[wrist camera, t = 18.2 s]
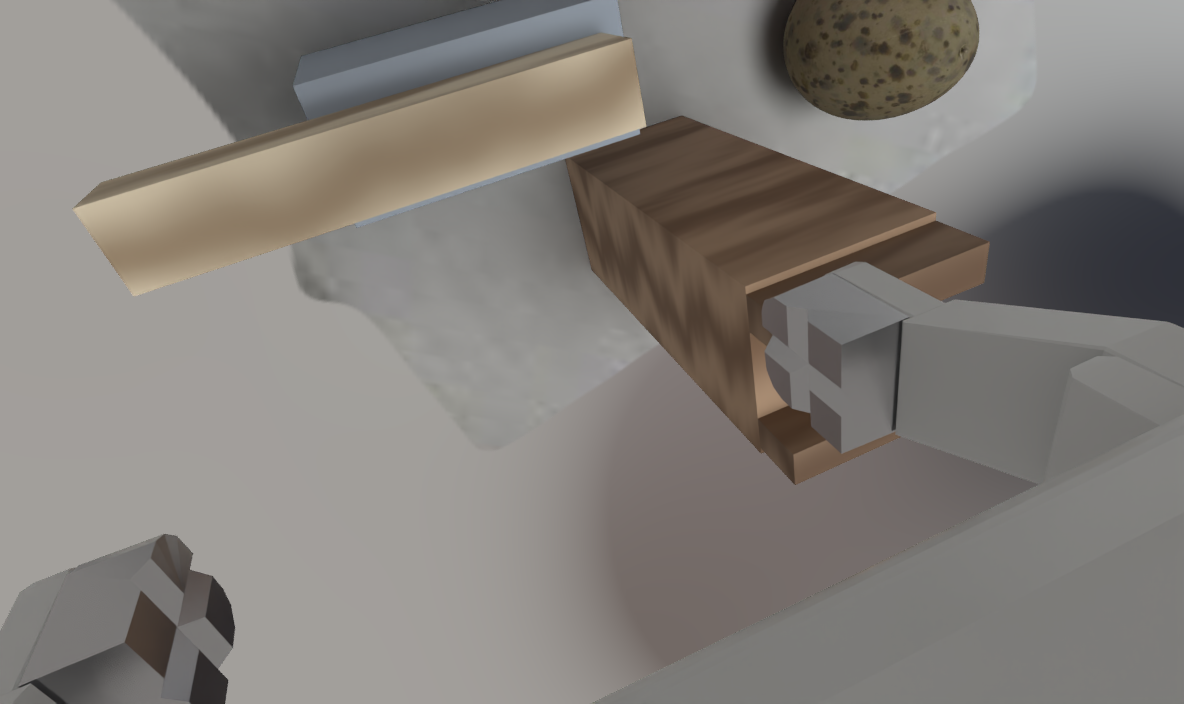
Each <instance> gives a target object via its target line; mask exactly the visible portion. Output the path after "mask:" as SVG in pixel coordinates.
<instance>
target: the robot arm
mask: <svg viewBox="0 0 1184 704" xmlns="http://www.w3.org/2000/svg"><path fill="white" fill-rule="evenodd" d="M761 312H762V326H763V327H764V328H765V329H766V330H768V331H769V332H770V333H771V334H772V337H771V339H770V341H769V343H768V345H767V347H766V349H765V351H764V352H765V361H766V369H767V372H768V375H769V377H770V380H771V382H772V385H773V387H774V389H775V390H776V392H777V393H778V394H779V396H780V397H781V399H782V400H783V401H784V402H786V403H787V404H788V405H789V406H790V407H791V408H792V409H795V410H799V411H803V412H807V413H810V414H811V427H812V428H813V429H815V430H816V431H817V432H818V433H819V434H820V435H821V436H822V437H823V438H825V439H826V440H827V441H828V442H829V443H830V444H831V445H832V446H833V447H834V448H836V449H837V450H838V451H839V452H840V453H841V454H842V453H845V452H847V451H850V450H852V449H854V448H857V447H859V446H862V445H864V444H866V443H869V442H871V441H874V440H876V439H878V438H881V437H883V436H886V435H888V434H891V433H893V432H895V431H896V433H895V435H898V436H901V437H904V438H907V439H910V440H913V441H916V442H919V443H922V444H925V445H927V446H930V447H933V448H936V449H939V450H942V451H945V452H947V453H950V454H953V455H956V456H959V457H962V458H965V459H968V460H970V461H973V462H976V463H979V464H982V465H985V466H988V467H991V468H994V469H997V470H999V471H1002V472H1005V473H1008V474H1011V475H1014V476H1017V477H1020V478H1022V479H1025V480H1028V481H1031V482H1034V483H1037V484H1039V485H1037V486H1035V487H1033V488H1031V489H1029V490H1027V491H1025V492H1023V493H1021V494H1019V495H1017V496H1015V497H1013V498H1011V499H1008V500H1007V501H1004V502H1002V503H1000V504H998V505H996V506H994V507H992V508H990V509H988V510H986V511H984V512H982V513H980V514H978V515H976V516H974V517H972V518H969V519H968V520H965V521H963V522H961V523H959V524H957V525H955V526H953V527H951V528H949V529H947V530H945V531H943V532H941V533H939V534H937V535H935V536H933V537H931V538H928V539H927V540H925V541H922V542H920V543H918V544H916V545H915V546H912V547H910V548H908V549H906V550H904V551H902V552H900V553H898V554H896V555H894V556H892V557H890V558H888V559H886V560H884V561H882V562H880V563H877V564H876V565H873V566H871V567H869V568H867V569H865V570H863V571H862V572H859V573H857V574H855V575H853V576H851V577H849V578H847V579H845V580H843V581H841V582H839V583H837V584H835V585H832V586H830V587H828V588H826V589H824V590H822V591H820V592H818V593H816V594H814V595H812V596H810V597H808V598H806V599H804V600H802V601H800V602H798V603H796V604H794V605H792V606H790V607H788V608H786V609H784V610H781V611H780V612H778V613H775V614H773V615H771V616H769V617H767V618H765V619H763V620H761V621H759V622H757V623H755V624H753V625H751V626H749V627H747V628H745V629H743V630H741V631H739V632H737V633H734V634H733V635H730V636H729V637H726V638H724V639H722V640H720V641H718V642H716V643H714V644H712V645H710V646H708V647H706V648H704V649H702V650H700V651H698V652H696V653H694V654H691V655H689V656H687V657H685V658H683V659H682V660H679V661H677V662H675V663H673V664H671V665H669V666H667V667H665V668H663V669H661V670H659V671H657V672H655V673H653V674H650V675H648V676H646V677H644V678H642V679H640V680H638V681H636V682H634V683H632V684H630V685H628V686H626V687H624V688H622V689H620V690H618V691H616V692H614V693H611V694H609V695H607V696H605V697H603V698H601V699H599V700H597V701H595V702H593V703H591V704H1184V328H1182V327H1179V326H1177V325H1174V324H1172V323H1169V322H1164V321H1154V320H1145V319H1135V318H1125V317H1115V316H1107V315H1096V314H1087V313H1078V312H1068V311H1058V310H1049V309H1040V308H1030V307H1021V306H1011V305H1002V304H992V303H982V302H973V301H963V300H953V301H950V302H948V303H944V302H941V301H940V300H938V299H936V298H934V297H932V296H930V295H928V294H926V293H924V292H922V291H920V290H918V289H917V288H915V287H913V286H911V285H909V284H907V283H905V282H903V281H901V280H899V279H897V278H895V277H893V276H891V275H889V274H888V273H886V272H884V271H882V270H880V269H878V268H876V267H874V266H872V265H870V264H868V263H866V262H853V263H851V264H849V265H846V266H844V267H842V268H839V269H837V270H835V271H832V272H830V273H828V274H825V276H823V277H820V278H818V279H815V280H813V281H810V282H808V283H805V284H803V285H800V286H798V287H795V288H793V289H791V290H788V291H786V292H783V293H781V294H778V295H776V296H773V297H771V298H768V299H766V300H764V303H763V307H762V311H761ZM192 555H193V553H192V552H191V551H190V550H189V549H188V547H186V545H185V544H184V543H183V542H182V541H181V540H180V539H179V538H178V537H177V536H174V535H168V534H163V535H160V536H157V537H154V538H152V539H149V540H146V541H144V542H141V543H138V544H136V545H133V546H130V547H128V548H125V549H122V550H119V551H117V552H114V553H111V554H108V555H106V556H103V557H100V558H98V559H95V560H92V561H90V562H87V563H84V564H81V565H79V566H78V567H76V568H71V569H68V570H66V571H63V572H61V573H58V574H55V575H53V576H51V577H48V578H45V579H43V580H40V581H38V582H35V583H33V584H32V585H30V586H29V587H27V588H26V589H24V590H23V591H21V592H20V593H19V595H18V597H17V599H16V601H15V603H14V605H13V607H12V609H11V611H10V613H9V615H8V617H7V619H6V621H5V623H4V625H3V627H2V629H1V631H0V704H225V701H226V693H227V687H228V679H227V678H226V677H225V676H224V675H223V674H222V673H221V672H220V671H219V670H218V668H219V667H220V665H221V664H222V663H223V661H224V660H225V658H226V657H227V655H228V654H229V653H230V651H231V650H232V648H233V642H234V633H235V625H234V619H233V614H232V608H231V604H230V602H229V600H228V598H227V596H226V594H225V592H224V590H223V588H222V587H221V586H220V585H219V584H218V582H217V581H216V580H215V579H214V577H213V576H210V575H206V574H203V573H200V572H195V571H192V570H190V566H191V561H192Z"/></svg>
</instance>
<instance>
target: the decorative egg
mask: <svg viewBox="0 0 1184 704" xmlns="http://www.w3.org/2000/svg"><path fill="white" fill-rule="evenodd" d="M978 43H979V24H978V18H977V14H976V11H975V9H974V6H973V4H972V2H971V0H797V1H796V2H795V4H794V6H793V8H792V10H791V12H790V15H789V18H788V21H787V24H786V28H785V33H784V42H783V50H784V59H785V64H786V68H787V71H788V74H789V76H790V78H791V80H792V82H793V84H794V85H795V87H796V88H797V90H798V91H799V92H800V94H801V95H802V96H803V97H804V98H805V99H806V100H807V101H809V102H810V103H811V104H812V105H814V106H815V107H817V108H819V109H820V110H822V111H824V112H826V113H829V114H831V115H834V116H837V117H841V118H845V119H852V120H880V119H887V118H892V117H896V116H900V115H904V114H907V113H910V112H912V111H915V110H917V109H920V108H922V107H924V106H926V105H928V104H930V103H932V102H933V101H935V100H937V99H938V98H940V97H941V96H942V95H944V94H945V93H946V92H948V91H949V90H950V89H951V88H952V87H953V86H954V85H956V84H957V82H958V81H959V80H960V79H961V78H962V77H963V76H964V74H965V73H966V71H967V70H968V68H969V67H970V65H971V63H972V61H973V59H974V57H975V54H976V51H977V48H978Z"/></svg>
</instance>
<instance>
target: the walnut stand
mask: <svg viewBox="0 0 1184 704" xmlns="http://www.w3.org/2000/svg"><path fill="white" fill-rule="evenodd" d="M565 160H566V164H567V169H568V173H569V177H570V181H571V185H572V189H573V193H574V198H575V202H576V206H577V210H578V214H579V218H580V223H581V227H582V231H583V235H584V239H585V243H586V248H587V252H588V256H589V260H590V264H591V268H592V271H593V272H594V273H595V274H596V275H597V276H598V277H599V278H600V279H601V280H602V282H603V283H604V284H605V285H606V286H607V287H608V288H609V289H610V290H611V291H612V292H613V293H614V295H615V296H616V297H617V298H618V299H619V300H620V301H621V302H622V303H623V304H624V305H625V307H626V308H627V309H628V310H629V311H630V312H631V313H632V314H633V315H634V316H635V317H636V318H637V320H638V321H639V322H640V323H641V324H642V325H643V326H644V327H645V328H646V329H647V330H648V331H649V333H650V334H651V335H652V336H653V337H654V338H655V339H656V340H657V341H658V342H659V343H660V344H661V346H662V347H663V348H664V349H665V350H666V351H667V352H668V353H669V354H670V355H671V356H672V357H673V358H674V360H675V361H676V362H677V363H678V364H679V365H680V366H681V367H682V368H683V369H684V370H685V372H686V373H687V374H688V375H689V376H690V377H691V378H692V379H693V380H694V381H695V382H696V383H697V385H698V386H699V387H700V388H701V389H702V390H703V391H704V392H705V393H706V394H707V395H708V396H709V397H710V399H711V400H712V401H713V402H714V403H715V404H716V405H717V406H718V407H719V408H720V409H721V411H722V412H723V413H724V414H725V415H726V416H727V417H728V418H729V419H730V420H731V421H732V422H733V424H734V425H735V426H736V427H737V428H738V429H739V430H740V431H741V432H742V433H743V434H744V436H746V438H747V439H748V440H749V441H750V442H751V443H752V444H753V445H754V446H755V448H756V449H757V450H758V451H759V452H760V453H764V452H765V453H766V454H767V455H768V456H769V458H770V459H771V460H772V461H773V462H774V463H775V464H776V465H777V466H778V467H779V468H780V469H781V470H782V472H783V473H784V474H785V475H787V477H788V478H789V479H790V480H791V481H792V482H793V483H794V484H795V485H796V484H798V483H801V482H803V481H805V480H807V479H809V478H811V477H814V476H816V475H818V474H820V473H823V472H825V471H827V470H829V469H831V468H834V467H836V466H838V465H840V464H842V463H845V462H847V461H849V460H851V459H853V458H856V457H858V456H860V455H862V454H864V453H867V452H869V451H871V450H873V449H875V448H877V447H880V446H882V445H884V444H886V443H888V442H891V441H893V440H895V439H897V438H900V437H901V436H898V435H895V433H896V431H895V432H893V433H891V434H888V435H886V436H883V437H881V438H878V439H876V440H874V441H871V442H869V443H866V444H864V445H862V446H859V447H857V448H854V449H852V450H850V451H847V452H845V453H842V454H841V453H840V452H839V451H838V450H837V449H836V448H834V447H833V446H832V445H831V444H830V443H829V442H828V441H827V440H826V439H825V438H823V437H822V436H821V435H820V434H819V433H818V432H817V431H816V430H815V429H813V428H812V427H811V414H810V413H807V412H803V411H799V410H795V409H792V408H791V407H790V406H789V405H788V404H787V403H786V402H784V401H783V400H782V399H781V397H780V396H779V394H778V393H777V392H776V390H775V389H774V387H773V385H772V382H771V380H770V377H769V375H768V372H767V369H766V361H765V352H764V351H765V349H766V347H767V345H768V343H769V341H770V339H771V337H772V334H771V333H770V332H769V331H768V330H766V329H765V328H764V327H763V326H762V312H761V311H762V307H763V303H764V300H766V299H768V298H771V297H773V296H776V295H778V294H781V293H783V292H786V291H788V290H791V289H793V288H795V287H798V286H800V285H803V284H805V283H808V282H810V281H813V280H815V279H818V278H820V277H823V276H825V274H828V273H830V272H832V271H835V270H837V269H839V268H842V267H844V266H846V265H849V264H851V263H853V262H866V263H868V264H870V265H872V266H874V267H876V268H878V269H880V270H882V271H884V272H886V273H888V274H889V275H891V276H893V277H895V278H897V279H899V280H901V281H903V282H905V283H907V284H909V285H911V286H913V287H915V288H917V289H918V290H920V291H922V292H924V293H926V294H928V295H930V296H932V297H934V298H936V299H938V300H940V301H941V300H944V299H946V298H948V297H951V296H953V295H956V294H958V293H961V292H963V291H965V290H968V289H970V288H973V287H975V286H977V285H980V284H982V283H984V280H985V273H986V265H987V258H988V250H989V244H990V242H989V241H986V240H983V239H981V238H978V237H976V236H973V235H971V234H968V233H966V232H963V231H961V230H958V229H956V228H953V227H951V226H948V225H945V224H943V223H940V222H938V221H936V212H933V211H930V210H928V209H925V208H923V207H920V206H918V205H915V204H912V203H910V202H907V201H905V200H902V199H899V198H897V197H894V196H891V195H889V194H886V193H884V192H881V191H878V190H876V189H873V188H870V187H868V186H865V185H863V184H860V183H857V182H855V181H852V180H849V179H847V178H844V177H842V176H839V175H836V174H834V173H831V172H828V171H826V170H823V169H821V168H818V167H815V166H813V165H810V164H807V163H805V162H802V161H800V160H797V159H794V158H792V157H789V156H786V155H784V154H781V153H779V152H776V151H773V150H771V149H768V148H765V147H763V146H760V145H758V144H755V143H752V142H750V141H747V140H744V139H742V138H739V137H737V136H734V135H731V134H729V133H726V132H723V131H721V130H718V129H716V128H713V127H710V126H708V125H705V124H702V123H700V122H697V121H695V120H692V119H689V118H687V117H684V116H679V117H676V118H673V119H670V120H667V121H664V122H661V123H658V124H655V125H652V126H649V127H646V128H643V129H640V134H639V135H636V136H633V137H630V138H627V139H624V140H621V141H618V142H615V143H612V144H609V145H606V146H603V147H600V148H597V149H594V150H591V151H588V152H584V153H581V154H578V155H575V156H572V157H569V158H566V159H565Z"/></svg>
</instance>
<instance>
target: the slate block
mask: <svg viewBox="0 0 1184 704" xmlns="http://www.w3.org/2000/svg"><path fill="white" fill-rule="evenodd" d="M597 33H606V34H611V35H617V36H622V37H624V36H623V30H622V24H621V18H620V12H619V7H618V1H617V0H500V1H497V2H493V3H489V4H486V5H482V6H479V7H475V8H472V9H468V10H464V11H461V12H457V13H454V14H450V15H447V16H443V17H439V18H436V19H432V20H429V21H425V22H421V23H418V24H414V25H411V26H407V27H404V28H400V29H396V30H393V31H389V32H386V33H382V34H379V35H375V36H371V37H368V38H364V39H361V40H357V41H354V42H350V43H346V44H343V45H339V46H336V47H332V48H329V49H325V50H321V51H318V52H314V53H311V54H307V55H304V56H301V59H300V62H299V66H298V69H297V73H296V76H295V79H294V83H293V88H294V91H295V93H296V95H297V97H298V99H299V102H300V104H301V106H302V108H303V111H304V113H305V115H306V117H307V119H308V120H311V119H314V118H318V117H321V116H324V115H328V114H331V113H334V112H338V111H341V110H344V109H348V108H351V107H354V106H358V105H361V104H364V103H368V102H371V101H374V100H378V99H381V98H384V97H388V96H391V95H394V94H398V93H401V92H404V91H408V90H411V89H414V88H418V87H421V86H424V85H428V84H431V83H434V82H438V81H441V80H444V79H448V78H451V77H454V76H458V75H461V74H464V73H468V72H471V71H474V70H478V69H481V68H484V67H488V66H491V65H494V64H498V63H501V62H504V61H508V60H511V59H514V58H518V57H521V56H524V55H528V54H531V53H534V52H538V51H541V50H544V49H548V48H551V47H554V46H558V45H561V44H564V43H568V42H571V41H574V40H578V39H581V38H584V37H588V36H591V35H594V34H597ZM639 134H640V129H638V130H635V131H632V132H629V133H626V134H623V135H620V136H617V137H614V138H611V139H607V140H604V141H601V142H598V143H595V144H592V145H589V146H586V147H583V148H580V149H577V150H574V151H571V152H568V153H565V154H562V155H559V156H556V157H553V158H550V159H547V160H544V161H541V162H538V163H535V164H532V165H529V166H526V167H523V168H520V169H517V170H514V171H511V172H508V173H505V174H502V175H499V176H496V177H493V178H490V179H487V180H484V181H481V182H478V183H475V184H472V185H469V186H466V187H463V188H460V189H457V190H454V191H451V192H448V193H445V194H442V195H439V196H436V197H433V198H430V199H427V200H424V201H421V202H418V203H415V204H412V205H409V206H406V207H402V208H399V209H396V210H393V211H390V212H387V213H384V214H381V215H378V216H375V217H372V218H369V219H366V220H363V221H360V222H357V223H354V224H355V226H356V228H358V227H361V226H364V225H367V224H370V223H373V222H376V221H379V220H382V219H385V218H388V217H391V216H394V215H397V214H400V213H403V212H406V211H409V210H412V209H415V208H418V207H421V206H424V205H427V204H430V203H433V202H436V201H439V200H442V199H445V198H448V197H451V196H454V195H457V194H461V193H464V192H467V191H470V190H473V189H476V188H479V187H482V186H485V185H488V184H491V183H494V182H497V181H500V180H503V179H506V178H509V177H512V176H515V175H518V174H521V173H524V172H527V171H530V170H533V169H536V168H539V167H542V166H545V165H548V164H551V163H554V162H557V161H560V160H563V159H566V158H569V157H572V156H575V155H578V154H581V153H584V152H588V151H591V150H594V149H597V148H600V147H603V146H606V145H609V144H612V143H615V142H618V141H621V140H624V139H627V138H630V137H633V136H636V135H639Z"/></svg>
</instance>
